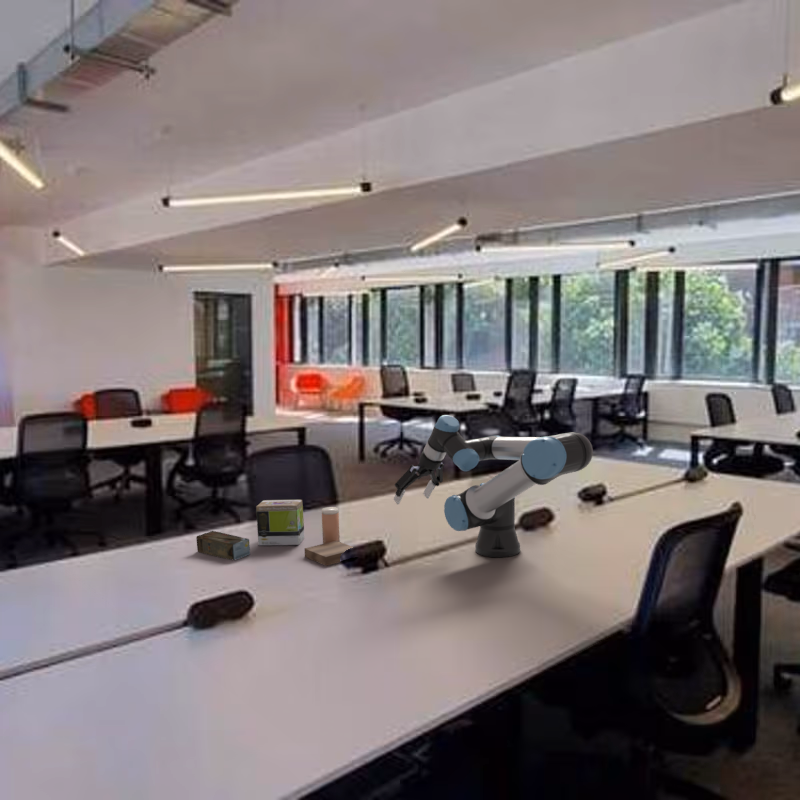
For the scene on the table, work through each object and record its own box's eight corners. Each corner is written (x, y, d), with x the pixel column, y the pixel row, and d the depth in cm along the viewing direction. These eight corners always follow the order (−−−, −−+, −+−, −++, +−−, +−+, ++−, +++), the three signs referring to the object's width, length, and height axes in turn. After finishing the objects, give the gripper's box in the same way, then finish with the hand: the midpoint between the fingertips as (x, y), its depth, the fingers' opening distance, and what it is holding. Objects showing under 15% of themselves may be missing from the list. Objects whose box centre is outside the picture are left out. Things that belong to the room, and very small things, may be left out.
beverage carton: (233, 561, 262) (232, 542, 261) (195, 553, 273) (194, 534, 272) (251, 555, 269) (250, 536, 268) (213, 547, 280) (212, 529, 279)
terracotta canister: (343, 544, 277) (341, 509, 275) (329, 548, 273) (327, 512, 272) (333, 541, 281) (332, 506, 280) (319, 544, 278) (318, 509, 276)
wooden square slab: (358, 557, 262) (358, 548, 262) (326, 565, 254) (325, 556, 254) (336, 549, 272) (336, 540, 272) (304, 556, 264) (304, 548, 264)
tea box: (304, 538, 287) (303, 498, 286) (298, 546, 277) (297, 505, 276) (265, 538, 289) (263, 498, 287) (257, 546, 279) (255, 505, 277)
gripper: (454, 443, 276) (432, 486, 287) (398, 451, 260) (377, 496, 271) (466, 457, 271) (443, 500, 282) (410, 466, 256) (388, 511, 267)
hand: (411, 498), depth 277 cm, fingers open, 13 cm apart
